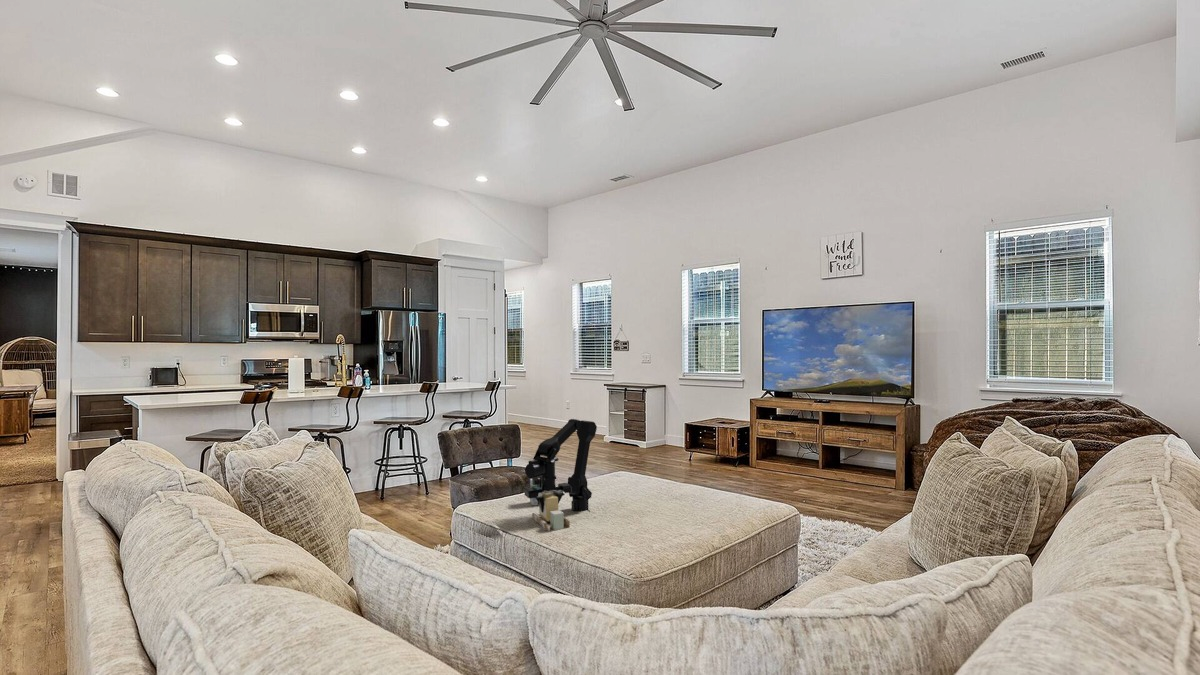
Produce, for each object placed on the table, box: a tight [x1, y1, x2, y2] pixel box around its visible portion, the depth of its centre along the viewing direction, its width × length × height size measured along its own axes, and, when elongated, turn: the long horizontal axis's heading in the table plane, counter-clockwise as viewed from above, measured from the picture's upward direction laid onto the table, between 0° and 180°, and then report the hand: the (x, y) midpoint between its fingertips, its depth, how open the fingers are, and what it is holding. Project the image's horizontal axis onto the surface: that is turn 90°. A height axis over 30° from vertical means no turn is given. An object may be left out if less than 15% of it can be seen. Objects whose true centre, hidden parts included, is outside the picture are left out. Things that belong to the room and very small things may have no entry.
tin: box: [550, 509, 565, 531], centre depth 235 cm, size 4×4×6 cm
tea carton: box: [538, 492, 559, 521], centre depth 243 cm, size 8×5×9 cm, turn 27°
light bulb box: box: [529, 477, 553, 507], centre depth 271 cm, size 11×7×11 cm, turn 105°
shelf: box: [531, 512, 571, 532], centre depth 241 cm, size 18×9×4 cm, turn 26°
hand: (548, 511), depth 243 cm, fingers closed on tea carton, 5 cm apart
